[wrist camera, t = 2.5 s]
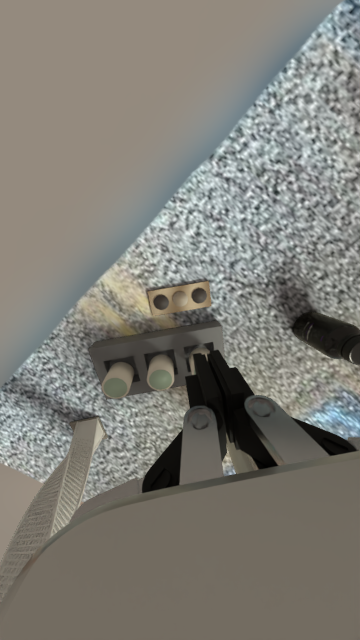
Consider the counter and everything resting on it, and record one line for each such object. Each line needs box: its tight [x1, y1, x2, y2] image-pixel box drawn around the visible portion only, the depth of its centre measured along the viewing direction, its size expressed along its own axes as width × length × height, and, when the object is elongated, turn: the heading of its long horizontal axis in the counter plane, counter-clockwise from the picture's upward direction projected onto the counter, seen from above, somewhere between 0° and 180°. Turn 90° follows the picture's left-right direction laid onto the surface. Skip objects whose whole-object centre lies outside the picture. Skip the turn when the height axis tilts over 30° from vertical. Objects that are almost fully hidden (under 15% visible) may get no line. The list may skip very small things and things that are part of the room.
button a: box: [189, 348, 210, 375], centre depth 33 cm, size 5×5×5 cm
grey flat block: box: [88, 321, 225, 400], centre depth 37 cm, size 26×12×4 cm, turn 99°
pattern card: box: [148, 281, 211, 316], centre depth 35 cm, size 12×5×1 cm, turn 99°
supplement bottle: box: [294, 312, 360, 365], centre depth 33 cm, size 7×7×12 cm
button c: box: [102, 362, 134, 399], centre depth 33 cm, size 5×5×5 cm
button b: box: [147, 355, 174, 391], centre depth 33 cm, size 5×5×5 cm
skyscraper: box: [0, 416, 108, 604], centre depth 30 cm, size 8×8×28 cm
